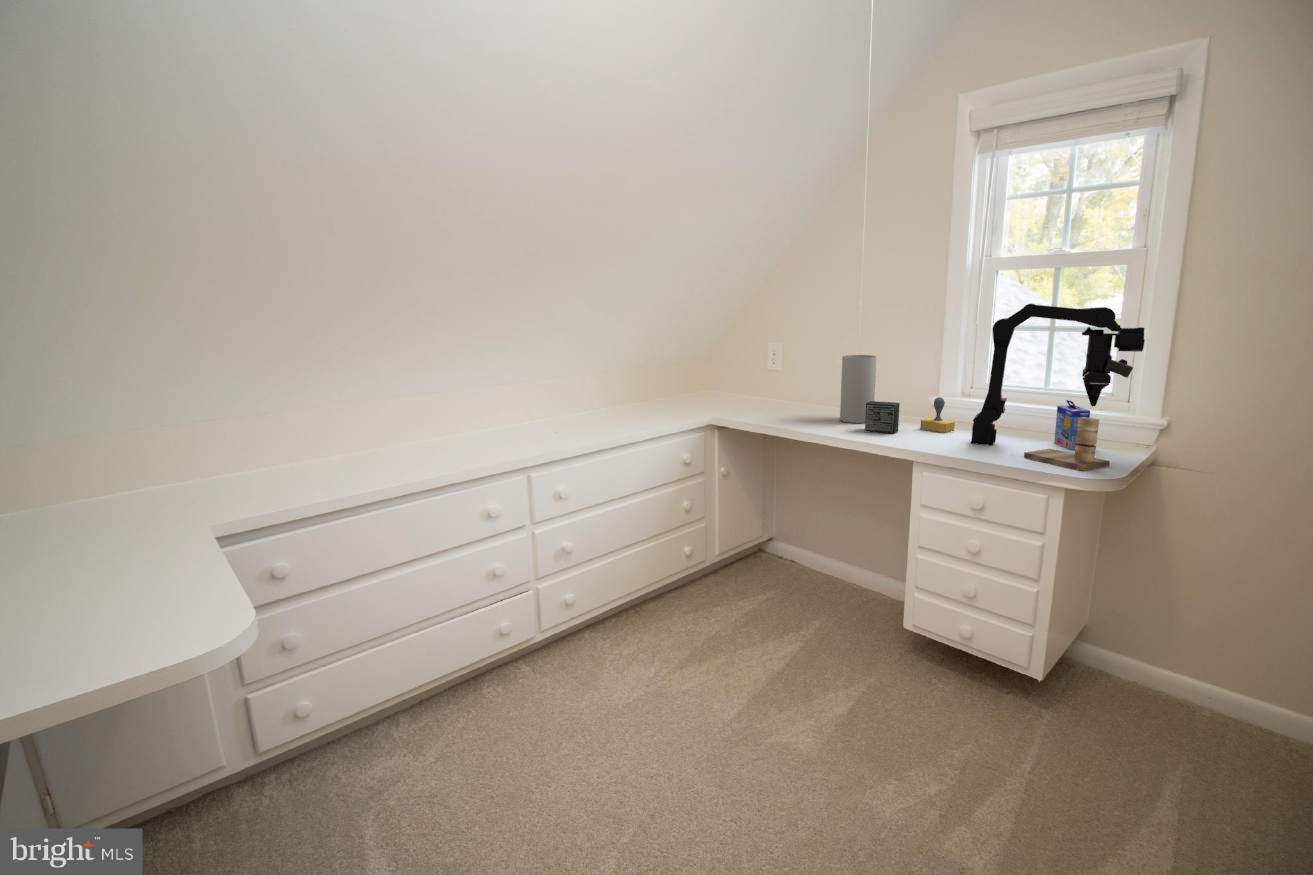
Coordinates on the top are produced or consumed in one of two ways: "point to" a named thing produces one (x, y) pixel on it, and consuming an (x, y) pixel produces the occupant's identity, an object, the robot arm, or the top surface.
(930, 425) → the rubber stamp
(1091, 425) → the stub
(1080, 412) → the ink cartridge box
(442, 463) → the top surface
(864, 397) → the cylinder vase
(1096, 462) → the stand
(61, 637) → the top surface
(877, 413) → the small box
